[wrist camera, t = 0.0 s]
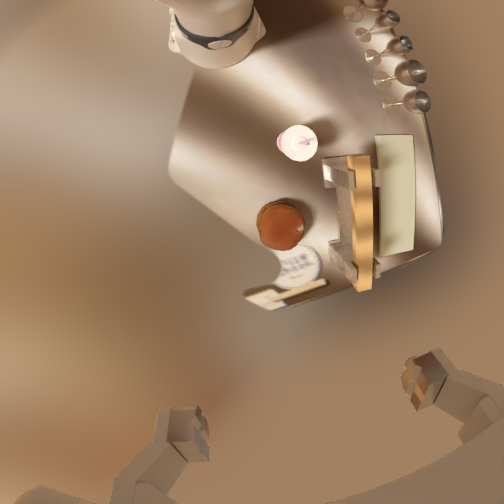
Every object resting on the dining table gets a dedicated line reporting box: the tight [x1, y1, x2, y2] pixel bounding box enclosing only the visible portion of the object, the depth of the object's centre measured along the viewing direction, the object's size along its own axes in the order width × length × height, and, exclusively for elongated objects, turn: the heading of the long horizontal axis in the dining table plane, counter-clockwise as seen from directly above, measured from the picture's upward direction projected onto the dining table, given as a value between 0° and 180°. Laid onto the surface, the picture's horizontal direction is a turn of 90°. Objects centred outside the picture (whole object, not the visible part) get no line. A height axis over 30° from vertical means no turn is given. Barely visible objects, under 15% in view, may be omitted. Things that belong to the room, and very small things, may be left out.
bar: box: [347, 154, 373, 292], centre depth 48 cm, size 26×3×3 cm, turn 9°
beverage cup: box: [277, 125, 318, 161], centre depth 44 cm, size 6×6×14 cm
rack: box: [321, 156, 381, 284], centre depth 52 cm, size 24×8×12 cm, turn 9°
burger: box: [257, 201, 305, 251], centre depth 55 cm, size 10×9×5 cm
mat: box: [375, 135, 415, 257], centre depth 56 cm, size 28×10×1 cm, turn 9°
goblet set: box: [343, 0, 431, 114], centre depth 38 cm, size 28×6×13 cm, turn 21°
